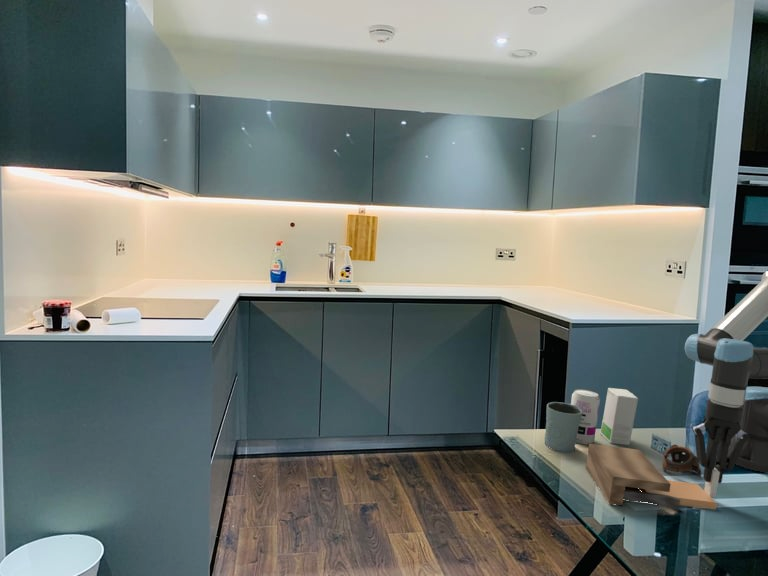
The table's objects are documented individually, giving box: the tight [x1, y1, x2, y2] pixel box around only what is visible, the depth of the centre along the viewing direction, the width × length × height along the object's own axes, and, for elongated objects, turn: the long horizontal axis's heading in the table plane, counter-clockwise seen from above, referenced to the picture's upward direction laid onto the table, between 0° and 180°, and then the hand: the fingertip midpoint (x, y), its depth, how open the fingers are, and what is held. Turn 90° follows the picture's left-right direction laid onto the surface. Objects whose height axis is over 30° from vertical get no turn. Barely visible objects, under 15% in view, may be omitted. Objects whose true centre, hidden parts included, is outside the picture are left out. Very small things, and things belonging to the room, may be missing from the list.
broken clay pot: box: [661, 444, 702, 478], centre depth 152 cm, size 12×10×8 cm
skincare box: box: [600, 387, 639, 446], centre depth 171 cm, size 8×7×16 cm
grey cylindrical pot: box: [544, 401, 582, 453], centre depth 161 cm, size 10×10×12 cm
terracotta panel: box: [639, 479, 718, 510], centre depth 136 cm, size 16×10×2 cm, turn 85°
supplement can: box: [570, 389, 601, 445], centre depth 168 cm, size 8×8×15 cm
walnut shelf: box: [585, 443, 681, 511], centre depth 137 cm, size 17×20×7 cm
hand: (709, 494), depth 135 cm, fingers closed
